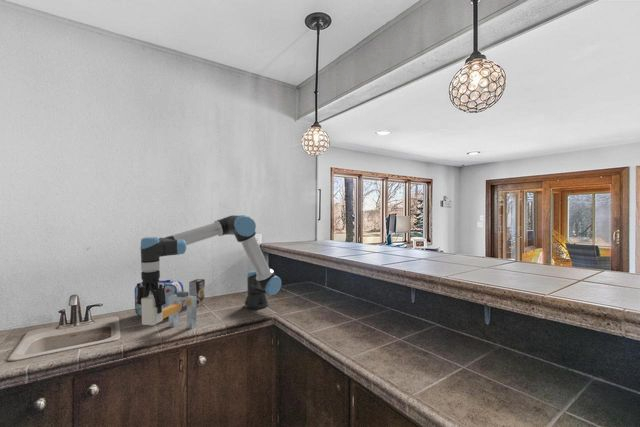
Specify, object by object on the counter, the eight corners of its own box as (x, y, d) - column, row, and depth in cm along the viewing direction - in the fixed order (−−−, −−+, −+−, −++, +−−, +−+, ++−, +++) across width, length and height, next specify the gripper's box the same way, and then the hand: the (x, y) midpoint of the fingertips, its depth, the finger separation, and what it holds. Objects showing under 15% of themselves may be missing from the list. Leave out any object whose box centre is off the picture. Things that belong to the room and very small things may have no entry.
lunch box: (187, 312, 183) (187, 277, 183) (179, 318, 173) (179, 281, 173) (142, 312, 184) (142, 277, 184) (132, 318, 173) (132, 280, 173)
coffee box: (197, 306, 195) (197, 282, 195) (188, 306, 196) (188, 281, 196) (205, 302, 204) (205, 279, 204) (196, 302, 205) (196, 278, 205)
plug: (173, 309, 158) (173, 286, 158) (183, 309, 157) (183, 287, 157) (141, 324, 138) (141, 298, 138) (153, 325, 137) (152, 299, 136)
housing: (196, 326, 162) (196, 292, 162) (191, 328, 158) (191, 294, 158) (173, 324, 165) (173, 290, 165) (168, 326, 161) (168, 292, 161)
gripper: (173, 269, 141) (175, 318, 142) (139, 268, 145) (140, 315, 146) (162, 272, 134) (163, 324, 134) (126, 271, 138) (128, 321, 138)
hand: (151, 319), depth 140 cm, fingers closed on plug, 6 cm apart
